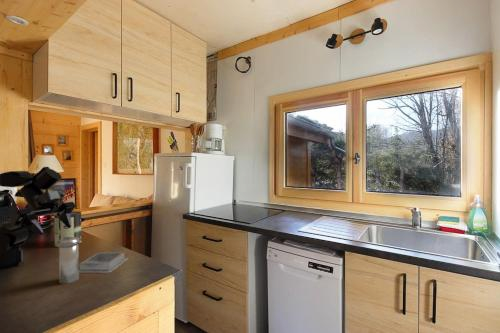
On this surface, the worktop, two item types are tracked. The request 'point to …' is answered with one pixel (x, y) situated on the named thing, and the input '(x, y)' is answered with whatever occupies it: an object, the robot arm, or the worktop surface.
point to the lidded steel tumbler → (68, 259)
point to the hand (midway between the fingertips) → (57, 230)
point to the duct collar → (102, 263)
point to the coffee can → (63, 230)
